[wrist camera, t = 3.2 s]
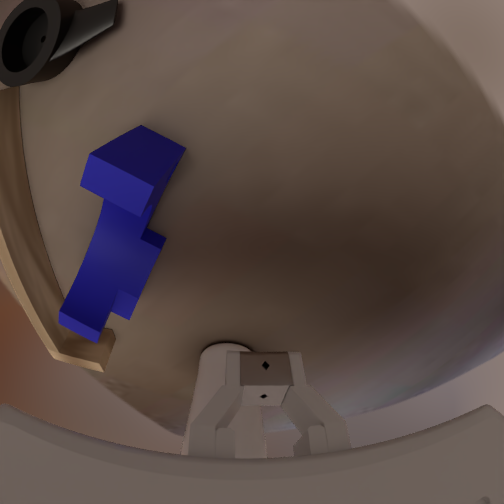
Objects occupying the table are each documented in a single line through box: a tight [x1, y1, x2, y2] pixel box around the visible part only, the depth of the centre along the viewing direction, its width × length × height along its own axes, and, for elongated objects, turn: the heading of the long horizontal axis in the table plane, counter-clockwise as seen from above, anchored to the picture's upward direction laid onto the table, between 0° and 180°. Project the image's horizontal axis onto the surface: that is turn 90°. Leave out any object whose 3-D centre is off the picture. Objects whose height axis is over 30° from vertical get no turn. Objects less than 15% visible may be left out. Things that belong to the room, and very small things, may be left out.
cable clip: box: [58, 125, 186, 343], centre depth 15 cm, size 12×4×6 cm, turn 148°
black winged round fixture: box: [0, 0, 118, 87], centre depth 8 cm, size 8×10×3 cm
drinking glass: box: [180, 343, 268, 458], centre depth 19 cm, size 7×7×15 cm
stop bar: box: [0, 86, 116, 372], centre depth 16 cm, size 6×24×4 cm, turn 174°
